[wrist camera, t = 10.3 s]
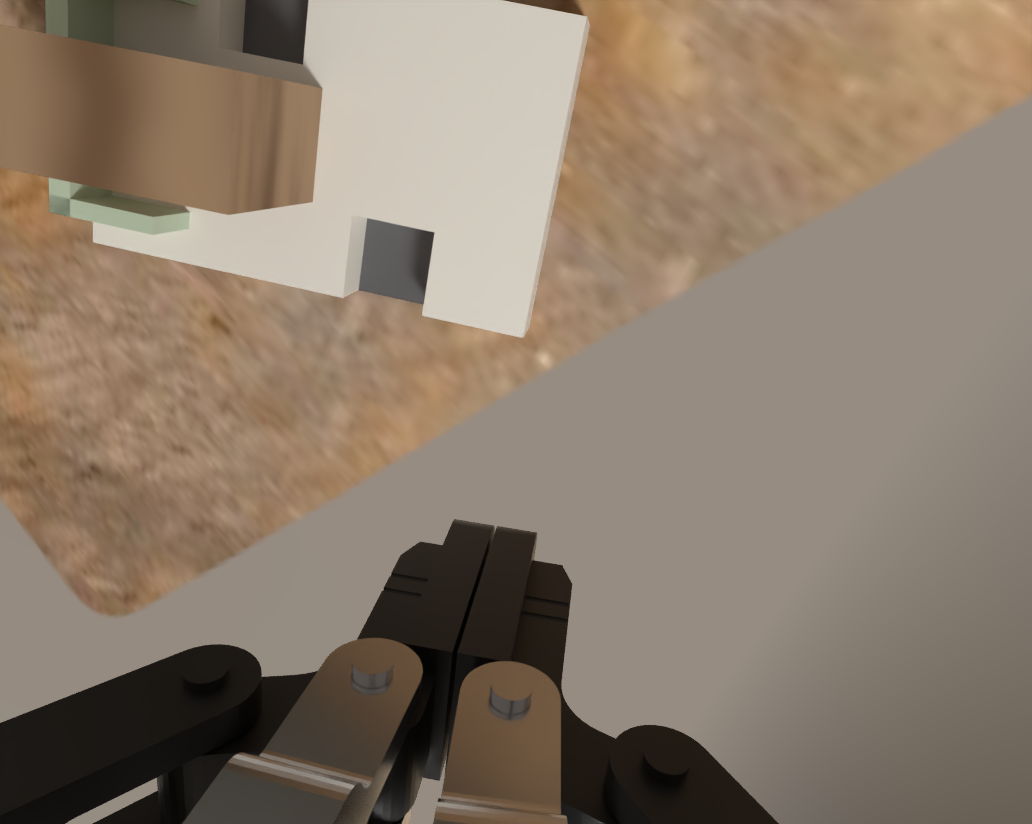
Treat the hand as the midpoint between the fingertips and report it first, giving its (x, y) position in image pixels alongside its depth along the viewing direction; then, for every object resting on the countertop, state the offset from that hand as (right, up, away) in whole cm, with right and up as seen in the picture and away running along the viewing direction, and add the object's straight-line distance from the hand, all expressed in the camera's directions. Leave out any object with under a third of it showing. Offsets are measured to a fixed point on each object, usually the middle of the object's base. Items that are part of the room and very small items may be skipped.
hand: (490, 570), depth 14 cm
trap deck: (-8, +16, +24) cm, 30 cm away
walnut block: (-13, +16, +22) cm, 30 cm away
